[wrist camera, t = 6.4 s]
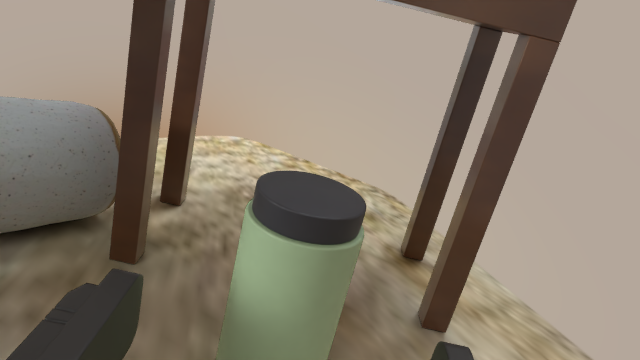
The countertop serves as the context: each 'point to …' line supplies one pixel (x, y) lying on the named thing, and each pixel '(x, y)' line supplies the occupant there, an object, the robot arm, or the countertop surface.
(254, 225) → the spice bottle
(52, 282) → the countertop surface
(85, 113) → the ceramic mug
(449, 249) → the pan stand
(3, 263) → the countertop surface
